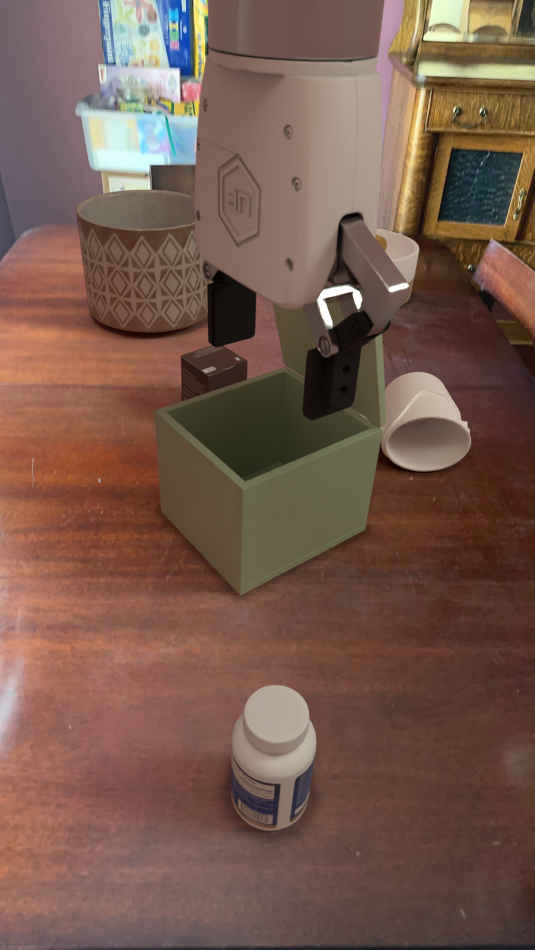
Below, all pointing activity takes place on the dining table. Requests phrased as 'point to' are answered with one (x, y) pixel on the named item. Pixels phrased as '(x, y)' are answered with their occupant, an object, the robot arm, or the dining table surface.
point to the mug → (422, 424)
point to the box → (210, 370)
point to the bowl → (402, 254)
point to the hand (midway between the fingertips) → (276, 373)
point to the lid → (300, 340)
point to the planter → (142, 260)
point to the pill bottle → (272, 758)
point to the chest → (263, 476)
